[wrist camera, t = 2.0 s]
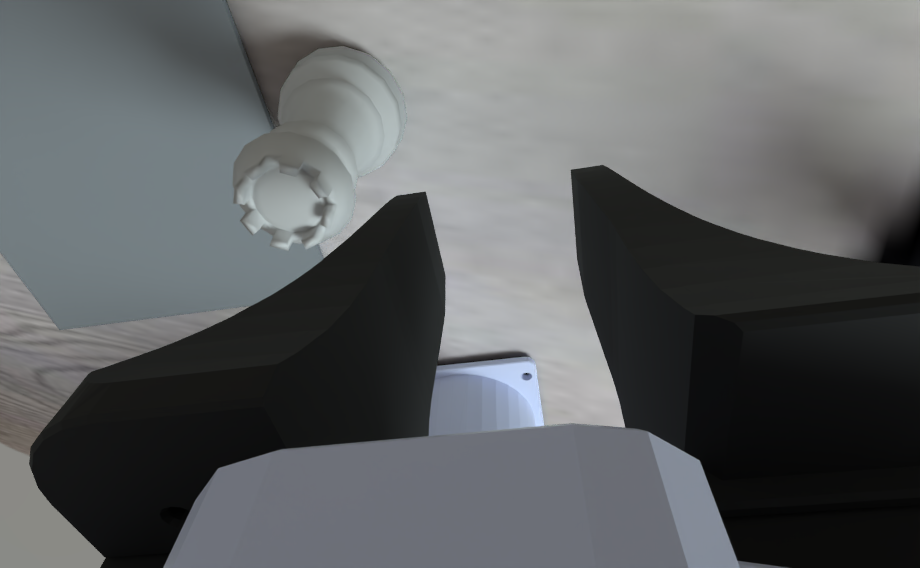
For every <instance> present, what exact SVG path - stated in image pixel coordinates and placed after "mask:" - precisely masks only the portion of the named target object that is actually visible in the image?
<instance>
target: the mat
mask: <svg viewBox="0 0 920 568" xmlns="http://www.w3.org/2000/svg"><path fill="white" fill-rule="evenodd" d="M273 129H274V126H273V123H272V121H271V118H270V115H269V113H268V110H267V107H266V105H265V102H264V100H263V97H262V94H261V92H260V89H259V86H258V84H257V81H256V78H255V76H254V73H253V70H252V68H251V65H250V63H249V60H248V57H247V55H246V52H245V49H244V47H243V44H242V41H241V39H240V36H239V34H238V31H237V28H236V26H235V23H234V20H233V18H232V15H231V12H230V10H229V7H228V5H227V2H226V0H0V253H1V254H2V255H3V257H4V258H5V259H6V261H7V262H8V263H9V264H10V266H11V267H12V268H13V270H14V271H15V272H16V274H17V275H18V276H19V277H20V279H21V280H22V281H23V283H24V284H25V285H26V287H27V288H28V289H29V291H30V292H31V293H32V294H33V296H34V297H35V298H36V300H37V301H38V302H39V304H40V305H41V306H42V308H43V309H44V310H45V311H46V313H47V314H48V315H49V317H50V318H51V319H52V321H53V322H54V323H55V324H56V326H57V327H58V328H59V330H64V329H72V328H80V327H88V326H95V325H103V324H111V323H119V322H127V321H135V320H143V319H151V318H158V317H166V316H174V315H182V314H190V313H198V312H206V311H214V310H221V309H229V308H237V307H245V306H252V305H254V304H256V303H258V302H260V301H261V300H263V299H265V298H267V297H269V296H270V295H272V294H274V293H276V292H277V291H279V290H280V289H282V288H283V287H285V286H287V285H288V284H290V283H291V282H293V281H294V280H296V279H297V278H299V277H300V276H302V275H303V274H304V273H306V272H307V271H309V270H310V269H311V268H313V267H314V266H315V265H317V264H318V263H319V262H321V261H322V260H323V259H324V258H323V255H322V253H321V250H320V247H319V245H318V244H317V245H315V246H313V247H311V248H309V249H305V247H304V245H303V244H297V243H292V245H291V247H290V248H289V250H288V251H286V250H282V249H279V248H275V247H271V246H270V243H271V241H272V238H273V236H272V235H270V234H269V233H267V232H266V231H264V230H262V229H261V228H260V229H259V230H258V231H257V232H256V233H255V234H254V235H253V236H252V235H251V233H250V232H249V231H248V230H247V229H246V228H245V226H244V225H243V224H242V223H241V222H240V220H241V218H242V217H243V216H244V214H245V212H244V211H243V209H242V208H241V207H240V205H239V204H233V199H234V188H233V186H232V183H233V166H234V162H235V160H236V159H237V157H238V156H239V154H240V152H241V151H242V149H243V147H244V146H245V145H246V144H248V143H249V142H251V141H253V140H254V139H256V138H258V137H260V136H261V135H263V134H267V133H270V131H271V130H273Z"/></svg>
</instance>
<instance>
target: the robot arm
mask: <svg viewBox="0 0 920 568" xmlns="http://www.w3.org/2000/svg"><path fill="white" fill-rule="evenodd" d="M571 179H572V193H573V207H574V221H575V235H576V249H577V260H578V265H579V270H580V276H581V281H582V286H583V291H584V296H585V299H586V302H587V305H588V308H589V311H590V314H591V317H592V320H593V323H594V326H595V329H596V332H597V335H598V337H599V340H600V343H601V346H602V349H603V352H604V355H605V358H606V361H607V363H608V366H609V369H610V372H611V375H612V378H613V381H614V384H615V387H616V391H617V394H618V398H619V401H620V405H621V410H622V414H623V419H624V423H625V428H622V427H610V426H598V425H587V424H575V423H569V424H558V425H547V426H544V422H543V415H542V407H541V400H540V393H539V386H538V379H537V372H536V364H535V361H534V360H533V359H532V358H530V357H517V358H507V359H498V360H489V361H479V362H470V363H460V364H451V365H442V366H437V362H438V356H439V350H440V344H441V337H442V331H443V324H444V317H445V272H444V268H443V263H442V259H441V255H440V251H439V246H438V242H437V238H436V234H435V229H434V225H433V221H432V217H431V212H430V208H429V204H428V200H427V196H426V192H420V193H413V194H406V195H400V196H396V197H394V198H393V199H391V200H390V201H389V202H388V203H386V204H385V205H384V206H383V207H382V208H381V209H380V210H379V211H378V212H377V213H375V214H374V215H373V216H372V217H371V218H370V219H369V220H368V221H367V222H366V223H365V224H364V225H362V226H361V227H360V228H359V229H358V230H357V231H356V232H355V233H354V234H353V235H352V236H351V237H349V238H348V239H347V240H346V241H345V242H343V243H342V244H341V245H340V246H339V247H337V248H336V249H335V250H334V251H333V252H331V253H330V254H329V255H328V256H327V257H325V258H324V259H323V260H322V261H321V262H319V263H318V264H317V265H315V266H314V267H313V268H311V269H310V270H309V271H307V272H306V273H304V274H303V275H302V276H300V277H299V278H297V279H296V280H294V281H293V282H291V283H290V284H288V285H287V286H285V287H283V288H282V289H280V290H279V291H277V292H276V293H274V294H272V295H270V296H269V297H267V298H265V299H263V300H261V301H260V302H258V303H256V304H254V305H252V306H250V307H249V308H247V309H245V310H243V311H241V312H239V313H238V314H236V315H234V316H232V317H230V318H228V319H226V320H224V321H222V322H220V323H218V324H215V325H213V326H211V327H209V328H207V329H205V330H203V331H200V332H198V333H196V334H193V335H191V336H189V337H186V338H184V339H182V340H179V341H177V342H174V343H172V344H169V345H167V346H164V347H162V348H159V349H156V350H153V351H151V352H148V353H145V354H142V355H139V356H136V357H134V358H131V359H128V360H125V361H122V362H119V363H117V364H114V365H111V366H108V367H105V368H102V369H99V370H96V371H93V372H91V373H89V374H88V375H87V377H86V378H85V379H84V380H83V382H82V383H81V384H80V385H79V387H78V388H77V389H76V390H75V392H74V393H73V394H72V395H71V397H70V398H69V399H68V400H67V402H66V403H65V404H64V405H63V406H62V408H61V409H60V410H59V411H58V412H57V414H56V415H55V416H54V417H53V419H52V420H51V421H50V422H49V423H48V425H47V426H46V427H45V428H44V430H43V431H42V432H41V433H40V435H39V436H38V438H37V439H36V440H35V442H34V443H33V445H32V446H31V451H30V462H29V464H30V467H31V470H32V473H33V475H34V478H35V480H36V483H37V486H38V488H39V489H40V491H41V492H42V493H43V495H44V496H45V497H46V498H47V500H48V501H49V502H50V503H51V505H52V506H54V508H56V509H57V510H58V511H59V512H60V513H61V514H62V515H63V516H64V517H65V518H66V519H67V520H68V521H69V522H70V523H71V524H72V525H73V526H74V527H75V528H76V529H77V530H78V531H79V532H80V533H81V534H82V535H83V536H84V537H85V538H86V539H87V540H88V541H89V542H90V543H91V544H92V545H93V546H94V547H95V548H96V549H97V550H98V551H99V552H100V553H101V554H102V555H103V556H104V557H106V559H105V560H104V562H103V564H102V566H101V567H100V568H920V267H918V266H907V265H897V264H886V263H877V262H869V261H863V260H856V259H850V258H844V257H838V256H832V255H826V254H820V253H815V252H810V251H806V250H801V249H796V248H792V247H788V246H784V245H780V244H776V243H772V242H768V241H764V240H760V239H757V238H753V237H750V236H747V235H743V234H740V233H737V232H734V231H731V230H729V229H726V228H723V227H720V226H718V225H715V224H712V223H709V222H707V221H704V220H702V219H700V218H697V217H695V216H693V215H691V214H688V213H686V212H684V211H682V210H680V209H678V208H676V207H674V206H672V205H670V204H668V203H666V202H664V201H662V200H660V199H659V198H657V197H655V196H653V195H651V194H650V193H648V192H646V191H645V190H643V189H641V188H640V187H638V186H636V185H635V184H633V183H632V182H630V181H628V180H627V179H625V178H624V177H622V176H620V175H619V174H617V173H616V172H614V171H613V170H611V169H609V168H608V167H606V166H604V165H600V166H594V167H587V168H580V169H573V170H571ZM523 373H530V374H528V375H524V374H523Z"/></svg>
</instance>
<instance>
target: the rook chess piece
mask: <svg viewBox="0 0 920 568" xmlns="http://www.w3.org/2000/svg"><path fill="white" fill-rule="evenodd" d="M278 120H279V124H280V126H278V127H277V128H275V129H273V130H271V131H270V133H267V134H263V135H261V136H260V137H258V138H256V139H254V140H253V141H251V142H249V143H248V144H246V145H245V146H244V147H243V149H242V151H241V152H240V154H239V156H238V157H237V159H236V160H235V162H234V166H233V183H232V186H233V188H234V199H233V204H239V205H240V207H241V208H242V209H243V211H244V212H245V214H244V216H243V217H242V218H241V220H240V222H241V223H242V224H243V225H244V226H245V228H246V229H247V230H248V231H249V232H250V233H251V235H252V236H253V235H254V234H255V233H256V232H257V231H258V230H259V229H260V228H261V229H262V230H264V231H266V232H267V233H269V234H270V235H272V236H273V238H272V241H271V243H270V246H271V247H275V248H279V249H282V250H286V251H288V250H289V248H290V247H291V245H292V243H297V244H303V245H304V247H305V249H309V248H311V247H313V246H315V245H317V244H319V243H321V242H323V241H326V240H328V239H330V238H332V237H334V236H336V235H338V234H340V233H341V231H342V230H343V229H344V228H345V226H346V225H347V224H348V223H349V221H350V220H351V219H352V216H353V211H354V206H355V202H356V194H355V188H356V183H357V178H358V177H362V176H364V175H366V174H368V173H370V172H372V171H374V170H375V169H377V168H379V167H381V166H383V165H384V164H385V163H386V161H387V160H388V159H389V157H390V156H391V155H392V154H393V152H394V151H395V150H396V148H397V145H398V144H399V143H400V141H401V140H402V137H403V132H404V128H405V124H406V120H407V114H406V108H405V102H404V96H403V92H402V91H401V89H400V87H399V86H398V84H397V82H396V81H395V79H394V77H393V75H392V74H391V72H390V71H389V70H388V69H387V68H386V67H384V66H383V65H382V64H381V63H379V62H378V61H377V60H376V59H374V58H373V57H372V56H371V55H369V54H367V53H364V52H361V51H358V50H355V49H351V48H348V47H345V46H339V47H330V48H320V49H317V50H316V51H314V52H312V53H311V54H309V55H308V56H306V57H304V58H303V59H301V60H300V61H298V62H297V64H296V66H295V67H294V69H293V70H292V71H291V73H290V75H289V76H288V78H287V80H286V81H285V83H284V85H283V86H282V88H281V90H280V99H279V108H278Z"/></svg>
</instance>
